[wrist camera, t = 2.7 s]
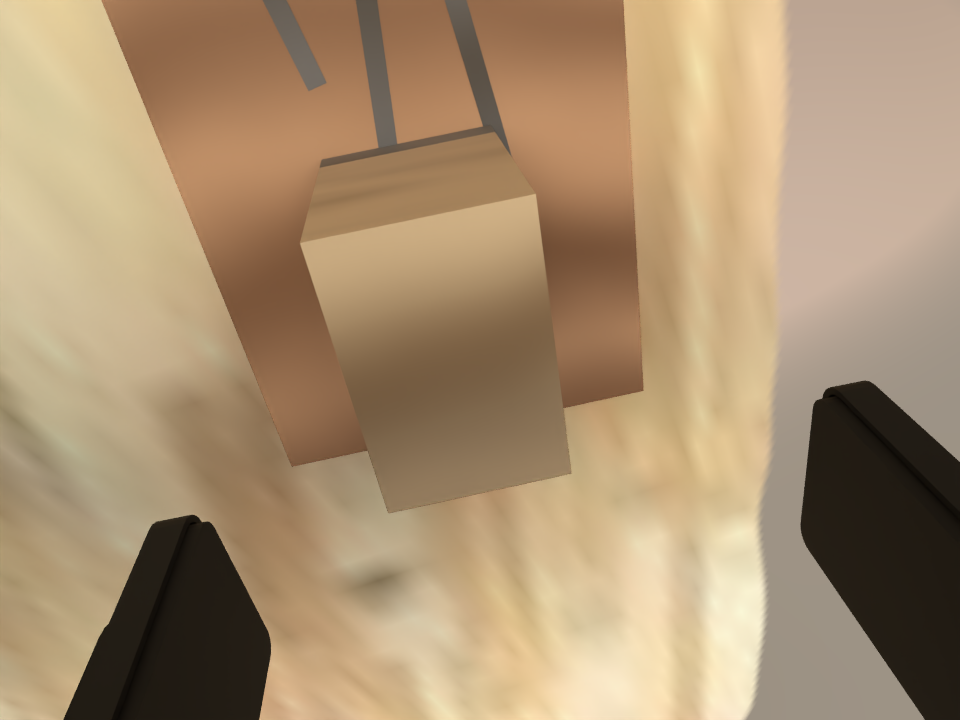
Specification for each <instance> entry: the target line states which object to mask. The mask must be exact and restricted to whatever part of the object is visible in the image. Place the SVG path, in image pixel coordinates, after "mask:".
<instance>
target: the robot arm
mask: <svg viewBox="0 0 960 720" xmlns="http://www.w3.org/2000/svg"><path fill="white" fill-rule="evenodd" d="M801 533H802V536H803V540H804V542H805V544H806V546H807V548H808V550H809V551H810V553H811V554H812V556H813V557H814V559H815V560H816V561H817V563H818V564H819V566H820V567H821V569H822V570H823V571H824V573H825V574H826V576H827V577H828V579H829V580H830V582H831V583H832V585H833V586H834V588H835V589H836V591H837V592H838V593H839V595H840V596H841V598H842V599H843V601H844V602H845V604H846V605H847V607H848V608H849V609H850V611H851V612H852V614H853V615H854V617H855V618H856V620H857V621H858V622H859V624H860V625H861V627H862V628H863V630H864V631H865V633H866V634H867V635H868V637H869V638H870V640H871V641H872V643H873V644H874V646H875V647H876V649H877V650H878V652H879V653H880V655H881V656H882V658H883V659H884V661H885V662H886V663H887V665H888V666H889V668H890V669H891V671H892V672H893V674H894V675H895V676H896V678H897V679H898V681H899V682H900V684H901V685H902V687H903V688H904V690H905V691H906V693H907V694H908V696H909V697H910V698H911V700H912V701H913V703H914V704H915V706H916V707H917V708H918V710H919V712H920V713H921V714H922V716H923V717H924V719H925V720H960V462H959V461H958V460H957V459H956V458H955V457H953V456H952V455H951V454H950V453H949V452H948V451H947V450H946V449H945V448H944V447H943V446H942V445H940V444H939V443H938V442H937V441H936V440H935V439H934V438H933V437H932V436H930V435H929V434H928V433H927V432H926V431H925V430H924V429H923V428H922V427H921V426H920V425H918V424H917V423H916V422H915V421H914V420H913V419H912V418H911V417H910V416H909V415H907V414H906V413H905V412H904V411H903V410H902V409H901V408H900V407H899V406H897V405H896V404H895V403H894V402H893V401H892V400H891V399H890V398H889V397H887V395H885V394H884V393H883V392H882V391H881V390H880V389H879V388H878V387H877V386H876V385H874V384H873V383H871V382H869V381H860V382H856V383H850V384H846V385H841V386H835V387H830V388H828V389H826V390H825V392H824V394H823V398H822V399H819V400H817V401H816V402H815V403H814V406H813V414H812V422H811V431H810V441H809V450H808V459H807V469H806V478H805V487H804V497H803V506H802V515H801ZM270 655H271V643H270V637H269V633H268V631H267V629H266V627H265V625H264V623H263V621H262V619H261V617H260V615H259V613H258V611H257V609H256V607H255V605H254V603H253V601H252V599H251V598H250V596H249V594H248V592H247V590H246V588H245V586H244V584H243V582H242V580H241V578H240V576H239V574H238V572H237V570H236V569H235V567H234V565H233V563H232V561H231V559H230V557H229V555H228V553H227V551H226V549H225V547H224V545H223V543H222V541H221V539H220V538H219V536H218V534H217V532H216V530H215V528H214V526H213V525H212V524H211V523H210V522H201V520H200V519H199V518H198V517H197V516H195V515H188V516H183V517H178V518H173V519H168V520H163V521H158V522H156V523H154V524H153V525H152V526H151V528H150V529H149V531H148V534H147V536H146V538H145V541H144V543H143V545H142V548H141V550H140V552H139V555H138V557H137V559H136V562H135V564H134V566H133V569H132V571H131V573H130V576H129V578H128V580H127V583H126V585H125V587H124V590H123V592H122V594H121V597H120V599H119V601H118V604H117V606H116V608H115V611H114V613H113V615H112V618H111V620H110V622H109V624H108V625H107V626H106V627H105V628H104V630H103V632H102V633H101V635H100V637H99V639H98V641H97V644H96V646H95V648H94V650H93V653H92V655H91V657H90V660H89V662H88V664H87V667H86V669H85V671H84V674H83V676H82V678H81V680H80V683H79V685H78V687H77V690H76V692H75V694H74V697H73V699H72V701H71V703H70V706H69V708H68V710H67V713H66V715H65V717H64V720H259V717H260V711H261V706H262V700H263V695H264V689H265V684H266V678H267V673H268V667H269V662H270Z"/></svg>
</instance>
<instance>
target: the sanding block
mask: <svg viewBox="0 0 960 720" xmlns="http://www.w3.org/2000/svg"><path fill="white" fill-rule="evenodd" d="M300 245H301V248H302V251H303V254H304V257H305V260H306V263H307V266H308V269H309V272H310V276H311V279H312V282H313V285H314V288H315V291H316V294H317V297H318V300H319V303H320V306H321V309H322V312H323V315H324V318H325V321H326V324H327V327H328V330H329V334H330V337H331V340H332V343H333V346H334V349H335V352H336V355H337V358H338V361H339V364H340V367H341V370H342V373H343V376H344V379H345V382H346V385H347V388H348V392H349V395H350V398H351V401H352V404H353V407H354V410H355V413H356V416H357V419H358V422H359V425H360V428H361V431H362V434H363V437H364V440H365V443H366V446H367V450H368V453H369V456H370V459H371V462H372V465H373V468H374V471H375V474H376V477H377V480H378V483H379V486H380V489H381V492H382V495H383V498H384V501H385V504H386V508H387V511H388V513H393V512H397V511H402V510H406V509H411V508H416V507H420V506H425V505H429V504H434V503H439V502H443V501H448V500H452V499H457V498H462V497H466V496H471V495H475V494H480V493H484V492H489V491H494V490H498V489H503V488H507V487H512V486H517V485H521V484H526V483H530V482H535V481H540V480H544V479H549V478H553V477H558V476H563V475H567V474H572V473H571V465H570V457H569V449H568V442H567V434H566V426H565V418H564V410H563V403H562V395H561V387H560V379H559V371H558V363H557V356H556V348H555V340H554V332H553V324H552V317H551V309H550V301H549V293H548V285H547V277H546V270H545V262H544V254H543V246H542V238H541V231H540V223H539V215H538V207H537V199H536V193H535V192H534V190H533V189H532V187H531V186H530V184H529V183H528V181H527V180H526V178H525V177H524V175H523V174H522V172H521V171H520V169H519V168H518V166H517V165H516V163H515V161H514V160H513V158H512V157H511V155H510V154H509V152H508V151H507V149H506V148H505V146H504V145H503V143H502V142H501V140H500V139H499V137H498V136H497V134H496V133H495V131H494V129H493V128H492V126H491V125H488V126H483V127H478V128H473V129H468V130H463V131H458V132H454V133H449V134H444V135H439V136H434V137H429V138H424V139H419V140H415V141H410V142H405V143H400V144H395V145H390V146H385V147H380V148H376V149H371V150H366V151H361V152H356V153H351V154H346V155H341V156H337V157H332V158H327V159H322V160H321V164H320V168H319V172H318V176H317V179H316V183H315V187H314V191H313V195H312V199H311V202H310V206H309V210H308V214H307V218H306V221H305V225H304V229H303V233H302V237H301V241H300Z"/></svg>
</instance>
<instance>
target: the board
mask: <svg viewBox="0 0 960 720" xmlns="http://www.w3.org/2000/svg"><path fill="white" fill-rule="evenodd" d="M102 2H103V5H104V7H105V10H106V12H107V15H108V17H109V20H110V22H111V24H112V27H113V29H114V32H115V34H116V37H117V39H118V42H119V44H120V47H121V49H122V51H123V54H124V56H125V59H126V61H127V64H128V66H129V69H130V71H131V73H132V76H133V78H134V81H135V83H136V86H137V88H138V91H139V93H140V96H141V98H142V100H143V103H144V105H145V108H146V110H147V113H148V115H149V118H150V120H151V122H152V125H153V127H154V130H155V132H156V135H157V137H158V140H159V142H160V145H161V147H162V149H163V152H164V154H165V157H166V159H167V162H168V164H169V167H170V169H171V172H172V174H173V176H174V179H175V181H176V184H177V186H178V189H179V191H180V194H181V196H182V198H183V201H184V203H185V206H186V208H187V211H188V213H189V216H190V218H191V221H192V223H193V225H194V228H195V230H196V233H197V235H198V238H199V240H200V243H201V245H202V247H203V250H204V252H205V255H206V257H207V260H208V262H209V265H210V267H211V270H212V272H213V274H214V277H215V279H216V282H217V284H218V287H219V289H220V292H221V294H222V296H223V299H224V301H225V304H226V306H227V309H228V311H229V314H230V316H231V319H232V321H233V323H234V326H235V328H236V331H237V333H238V336H239V338H240V341H241V343H242V345H243V348H244V350H245V353H246V355H247V358H248V360H249V363H250V365H251V368H252V370H253V372H254V375H255V377H256V380H257V382H258V385H259V387H260V390H261V392H262V394H263V397H264V399H265V402H266V404H267V407H268V409H269V412H270V414H271V417H272V419H273V421H274V424H275V426H276V429H277V431H278V434H279V436H280V439H281V441H282V443H283V446H284V448H285V451H286V453H287V456H288V458H289V461H290V463H291V466H297V465H302V464H306V463H311V462H316V461H320V460H325V459H330V458H334V457H339V456H343V455H348V454H353V453H357V452H362V451H367V446H366V443H365V440H364V437H363V434H362V431H361V428H360V425H359V422H358V419H357V416H356V413H355V410H354V407H353V404H352V401H351V398H350V395H349V392H348V388H347V385H346V382H345V379H344V376H343V373H342V370H341V367H340V364H339V361H338V358H337V355H336V352H335V349H334V346H333V343H332V340H331V337H330V334H329V330H328V327H327V324H326V321H325V318H324V315H323V312H322V309H321V306H320V303H319V300H318V297H317V294H316V291H315V288H314V285H313V282H312V279H311V276H310V272H309V269H308V266H307V263H306V260H305V257H304V254H303V251H302V248H301V245H300V241H301V237H302V233H303V229H304V225H305V221H306V218H307V214H308V210H309V206H310V202H311V199H312V195H313V191H314V187H315V183H316V179H317V176H318V172H319V168H320V164H321V160H322V159H327V158H332V157H337V156H341V155H346V154H351V153H356V152H361V151H366V150H371V149H376V148H380V147H385V146H390V145H395V144H400V143H405V142H410V141H415V140H419V139H424V138H429V137H434V136H439V135H444V134H449V133H454V132H458V131H463V130H468V129H473V128H478V127H483V126H488V125H491V126H492V128H493V129H494V131H495V133H496V134H497V136H498V137H499V139H500V140H501V142H502V143H503V145H504V146H505V148H506V149H507V151H508V152H509V154H510V155H511V157H512V158H513V160H514V161H515V163H516V165H517V166H518V168H519V169H520V171H521V172H522V174H523V175H524V177H525V178H526V180H527V181H528V183H529V184H530V186H531V187H532V189H533V190H534V192H535V193H536V199H537V207H538V215H539V223H540V231H541V238H542V246H543V254H544V262H545V270H546V277H547V285H548V293H549V301H550V309H551V317H552V324H553V332H554V340H555V348H556V356H557V363H558V371H559V379H560V387H561V395H562V403H563V408H566V407H570V406H575V405H580V404H584V403H589V402H593V401H598V400H603V399H607V398H612V397H617V396H621V395H626V394H630V393H635V392H640V391H643V373H642V354H641V334H640V315H639V296H638V276H637V257H636V237H635V218H634V199H633V179H632V160H631V141H630V121H629V102H628V83H627V63H626V44H625V25H624V5H623V0H102Z"/></svg>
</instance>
